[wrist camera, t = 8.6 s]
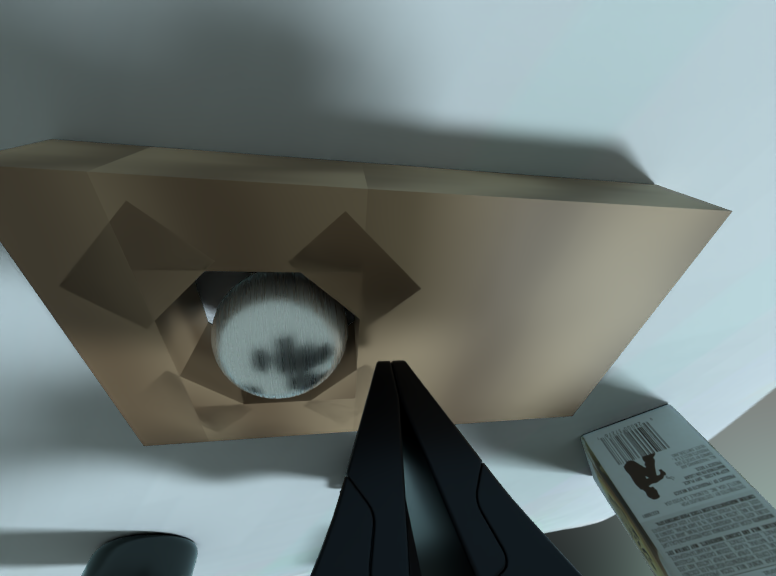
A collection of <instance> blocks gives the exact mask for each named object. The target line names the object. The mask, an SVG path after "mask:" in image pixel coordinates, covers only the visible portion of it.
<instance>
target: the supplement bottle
mask: <svg viewBox="0 0 776 576" xmlns="http://www.w3.org/2000/svg"><path fill="white" fill-rule="evenodd" d="M197 554H198V550H197V547H196V545H195V543H194V542H192V541H191V540H189V539H186V538H183V537H178V536H172V535H160V534H149V535H136V536H129V537H124V538H119V539H116V540H113V541H110V542H108V543H106V544H104V545H103V546H101V547H100V548H99V549H98V550H97V551H95V552H94V554H93V555H92V556H91V558H90V560H89V562H88V564H87V566H86V567H85V569H84V571H83V573H82V575H81V576H192V574H193V570H194V566H195V563H196V559H197Z"/></svg>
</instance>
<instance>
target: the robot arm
mask: <svg viewBox="0 0 776 576" xmlns="http://www.w3.org/2000/svg"><path fill="white" fill-rule="evenodd" d="M310 576H582V575H581V574H580V573H579V572H578V570H577V569H576V568H575V567H574V566H573V565H572V564H571V563H570V562H569V561H568V560H567V558H565V556H564V555H563V554H562V553H561V552H560V551H559V550H558V549H557V548H556V547H555V545H554V544H553V543H552V542H551V541H550V540H549V539H548V538H547V537H546V536H545V534H544V533H543V532H542V531H541V530H540V529H539V528H538V527H537V526H536V525H535V524H534V522H533V521H532V520H531V519H530V518H529V517H528V516H527V515H526V514H525V512H524V511H523V510H522V509H521V508H520V507H519V506H518V504H517V503H516V502H515V501H514V500H513V499H512V498H511V496H510V495H509V494H508V493H507V492H506V490H505V489H504V488H503V487H502V485H501V484H500V483H499V482H498V480H497V479H496V478H495V477H494V475H493V474H492V473H491V471H490V470H489V469H488V467H487V466H486V465H485V464H484V463H482V460H481V459H480V457H479V456H478V455H477V453H476V452H475V451H474V449H473V448H472V447H471V446H470V444H469V443H468V442H467V440H466V439H465V438H464V436H463V435H462V434H461V433H460V431H459V430H458V429H457V427H456V426H455V425H454V423H453V422H452V421H451V420H450V418H449V417H448V416H447V414H446V413H445V412H444V410H443V409H442V408H441V407H440V405H439V404H438V403H437V401H436V400H435V399H434V397H433V396H432V395H431V394H430V392H429V391H428V390H427V388H426V387H425V386H424V384H423V383H422V382H421V381H420V379H419V378H418V377H417V375H416V374H415V373H414V371H413V370H412V369H411V368H410V366H409V365H408V364H407V362H406V361H404V360H393V361H391V362H390V361H378V362H377V363H376V366H375V370H374V374H373V377H372V381H371V384H370V388H369V392H368V395H367V399H366V402H365V406H364V410H363V413H362V417H361V420H360V424H359V428H358V431H357V435H356V439H355V442H354V446H353V449H352V453H351V457H350V460H349V464H348V467H347V471H346V477H345V478H344V481H343V485H342V488H341V491H340V495H339V499H338V502H337V505H336V508H335V512H334V515H333V518H332V521H331V524H330V526H329V529H328V532H327V534H326V537H325V540H324V542H323V545H322V548H321V550H320V553H319V555H318V558H317V560H316V563H315V565H314V568H313V570H312V573H311V575H310Z"/></svg>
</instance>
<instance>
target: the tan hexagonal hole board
mask: <svg viewBox="0 0 776 576" xmlns="http://www.w3.org/2000/svg"><path fill="white" fill-rule="evenodd" d="M731 212H732V211H730V210H727V209H724V208H722V207H719V206H716V205H713V204H710V203H707V202H704V201H701V200H699V199H696V198H693V197H690V196H687V195H684V194H681V193H679V192H676V191H673V190H670V189H667V188H664V187H661V186H658V185H653V184H640V183H626V182H613V181H600V180H587V179H573V178H560V177H547V176H534V175H520V174H507V173H494V172H481V171H467V170H454V169H441V168H428V167H414V166H401V165H388V164H374V163H361V162H348V161H335V160H321V159H308V158H295V157H282V156H268V155H255V154H242V153H228V152H215V151H202V150H189V149H175V148H162V147H149V146H136V145H122V144H109V143H96V142H83V141H69V140H56V139H50V140H46V141H41V142H37V143H32V144H28V145H23V146H19V147H14V148H10V149H6V150H1V151H0V242H1V243H2V245H3V246H4V247H5V249H6V250H7V252H8V253H9V255H10V256H11V257H12V259H13V260H14V262H15V263H16V265H17V266H18V267H19V269H20V270H21V272H22V273H23V275H24V276H25V277H26V279H27V280H28V282H29V283H30V285H31V286H32V287H33V289H34V290H35V292H36V293H37V294H38V296H39V297H40V299H41V300H42V302H43V303H44V304H45V306H46V307H47V309H48V310H49V312H50V313H51V314H52V316H53V317H54V319H55V320H56V322H57V323H58V324H59V326H60V327H61V329H62V330H63V332H64V333H65V334H66V336H67V337H68V339H69V340H70V342H71V343H72V344H73V346H74V347H75V349H76V350H77V351H78V353H79V354H80V356H81V357H82V359H83V360H84V361H85V363H86V364H87V366H88V367H89V369H90V370H91V371H92V373H93V374H94V376H95V377H96V379H97V380H98V381H99V383H100V384H101V386H102V387H103V389H104V390H105V391H106V393H107V394H108V396H109V397H110V398H111V400H112V401H113V403H114V404H115V406H116V407H117V408H118V410H119V411H120V413H121V414H122V416H123V417H124V418H125V420H126V421H127V423H128V424H129V426H130V427H131V428H132V430H133V431H134V433H135V434H136V436H137V437H138V438H139V440H140V441H141V443H142V444H143V446H152V445H166V444H180V443H195V442H209V441H223V440H237V439H252V438H266V437H280V436H295V435H309V434H323V433H337V432H352V431H358V428H359V424H360V420H361V417H362V413H363V410H364V406H365V402H366V399H367V395H368V392H369V388H370V384H371V381H372V377H373V374H374V370H375V366H376V363H377V362H378V361H390V362H391V361H393V360H404V361H406V362H407V364H408V365H409V366H410V368H411V369H412V370H413V371H414V373H415V374H416V375H417V377H418V378H419V379H420V381H421V382H422V383H423V384H424V386H425V387H426V388H427V390H428V391H429V392H430V394H431V395H432V396H433V397H434V399H435V400H436V401H437V403H438V404H439V405H440V407H441V408H442V409H443V410H444V412H445V413H446V414H447V416H448V417H449V418H450V420H451V421H452V422H453V423H454V424H466V423H480V422H495V421H509V420H523V419H537V418H552V417H566V416H573V415H574V413H575V412H576V411H577V409H578V408H579V407H580V406H581V404H582V403H583V402H584V400H585V399H586V398H587V397H588V395H589V394H590V393H591V391H592V390H593V389H594V388H595V386H596V385H597V384H598V383H599V381H600V380H601V379H602V377H603V376H604V375H605V374H606V372H607V371H608V370H609V368H610V367H611V366H612V365H613V363H614V362H615V361H616V359H617V358H618V357H619V356H620V354H621V353H622V352H623V351H624V349H625V348H626V347H627V345H628V344H629V343H630V342H631V340H632V339H633V338H634V336H635V335H636V334H637V333H638V331H639V330H640V329H641V327H642V326H643V325H644V324H645V322H646V321H647V320H648V319H649V317H650V316H651V315H652V313H653V312H654V311H655V310H656V308H657V307H658V306H659V304H660V303H661V302H662V301H663V299H664V298H665V297H666V295H667V294H668V293H669V292H670V290H671V289H672V288H673V287H674V285H675V284H676V283H677V281H678V280H679V279H680V278H681V276H682V275H683V274H684V272H685V271H686V270H687V269H688V267H689V266H690V265H691V263H692V262H693V261H694V260H695V258H696V257H697V256H698V255H699V253H700V252H701V251H702V249H703V248H704V247H705V246H706V244H707V243H708V242H709V240H710V239H711V238H712V237H713V235H714V234H715V233H716V231H717V230H718V229H719V228H720V226H721V225H722V224H723V223H724V221H725V220H726V219H727V217H728V216H729V215H730V214H731ZM204 271H237V272H301V273H302V274H303V275H304V276H306V277H307V278H308V279H309V280H311V281H312V282H313V283H315V284H316V285H317V286H318V287H320V288H321V289H322V290H323V291H325V292H326V293H327V294H329V295H330V296H331V297H332V298H334V299H335V300H336V301H338V302H339V303H340V304H341V305H343V306H344V307H345V308H346V309H348V310H349V311H350V312H352V313H353V314H354V321H353V322H352V323H351V324H349V325H348V338H347V344H346V348H345V351H344V354H343V356H342V358H341V360H340V362H339V364H338V365H337V367H336V368H335V370H334V371H333V372H332V373H331V374H330V376H329V377H328V378H327V379H325V380H324V381H323V382H322V383H321V384H319V385H318V386H316V387H315V388H313V389H311V390H310V391H308V392H306V393H303V394H300V395H298V396H293V397H289V398H281V399H274V398H264V397H259V396H256V395H253V394H250V393H248V392H246V391H244V390H242V389H240V388H239V387H237V386H236V385H234V384H233V383H232V382H231V381H230V380H229V379H228V378H227V377H226V376H225V374H224V373H223V372H222V371H221V369H220V367H219V365H218V363H217V362H216V359H215V356H214V353H213V349H212V343H211V330H212V324H210V323H208V320H207V317H206V314H205V311H204V308H203V305H202V301H201V298H200V295H199V292H198V289H197V286H196V283H195V280H196V279H197V278H198V277H199V276H200V275H201V274H202V273H203V272H204Z"/></svg>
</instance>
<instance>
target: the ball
mask: <svg viewBox="0 0 776 576" xmlns="http://www.w3.org/2000/svg"><path fill="white" fill-rule="evenodd" d="M347 338H348V322H347V317H346V313H345V310H344V307H343V305H341V304H340V303H339V302H338V301H336V300H335V299H334V298H332V297H331V296H330V295H329V294H327V293H326V292H325V291H323V290H322V289H321V288H320V287H318V286H317V285H316V284H315V283H313V282H312V281H311V280H309V279H308V278H307V277H306V276H304V275H303V274H302V273H301V272H259V273H256V274H254V275H251V276H250V277H248V278H246V279H244V280H243V281H241V282H240V283H239V284H237V285H236V286H235V287H234V288H233V289H232V290H231V291H229V293H228V294H227V295H226V296H225V298H224V299H223V300H222V302H221V304H220V305H219V307H218V309H217V312H216V314H215V317H214V320H213V325H212V330H211V343H212V349H213V353H214V356H215V359H216V362H217V363H218V365H219V367H220V369H221V371H222V372H223V373H224V374H225V376H226V377H227V378H228V379H229V380H230V381H231V382H232V383H233V384H234V385H236V386H237V387H239V388H240V389H242V390H244V391H246V392H248V393H250V394H253V395H256V396H259V397H264V398H274V399H281V398H289V397H293V396H298V395H300V394H303V393H306V392H308V391H310V390H311V389H313V388H315V387H316V386H318V385H319V384H321V383H322V382H323V381H324V380H325V379H327V378H328V377H329V376H330V374H331V373H332V372H333V371H334V370H335V368H336V367H337V365H338V364H339V362H340V360H341V358H342V356H343V354H344V351H345V348H346V344H347Z"/></svg>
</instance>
